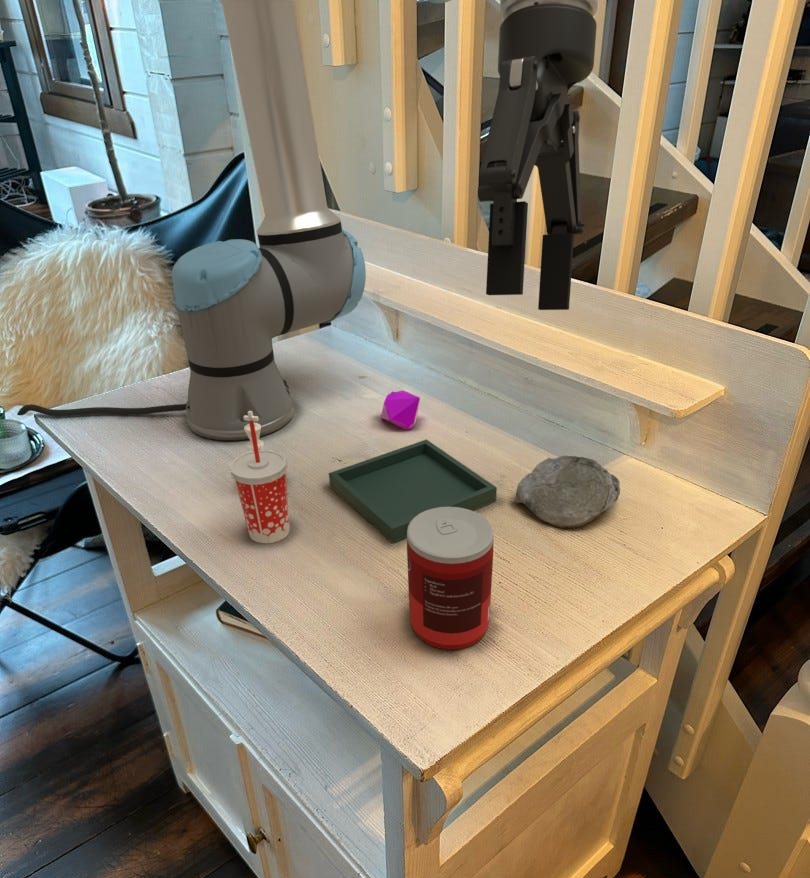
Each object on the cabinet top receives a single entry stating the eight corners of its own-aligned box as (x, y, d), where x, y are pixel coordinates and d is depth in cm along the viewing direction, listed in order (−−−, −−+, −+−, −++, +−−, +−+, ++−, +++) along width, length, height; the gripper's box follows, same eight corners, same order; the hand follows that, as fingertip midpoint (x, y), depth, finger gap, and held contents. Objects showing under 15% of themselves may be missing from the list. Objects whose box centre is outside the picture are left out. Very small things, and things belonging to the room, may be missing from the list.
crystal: (415, 412, 110) (415, 383, 107) (422, 430, 105) (421, 399, 103) (380, 416, 109) (378, 386, 106) (385, 433, 105) (384, 403, 102)
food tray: (329, 486, 94) (328, 472, 93) (426, 452, 100) (426, 439, 99) (392, 543, 84) (392, 528, 83) (496, 501, 90) (497, 487, 89)
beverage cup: (303, 518, 88) (288, 409, 80) (286, 549, 84) (270, 437, 75) (253, 514, 89) (234, 406, 81) (234, 545, 84) (212, 433, 76)
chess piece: (273, 496, 92) (262, 422, 87) (235, 493, 93) (222, 419, 87) (286, 475, 96) (276, 403, 90) (250, 472, 97) (238, 401, 91)
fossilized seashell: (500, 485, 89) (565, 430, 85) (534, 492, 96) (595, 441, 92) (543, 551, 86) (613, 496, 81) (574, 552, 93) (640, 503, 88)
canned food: (453, 586, 78) (454, 496, 71) (507, 628, 72) (513, 534, 66) (393, 618, 74) (388, 526, 67) (445, 664, 69) (445, 569, 62)
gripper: (550, -75, 47) (528, 284, 51) (627, 70, 69) (607, 314, 73) (439, -49, 50) (428, 287, 55) (546, 82, 72) (532, 314, 76)
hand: (531, 303), depth 64 cm, fingers open, 13 cm apart
